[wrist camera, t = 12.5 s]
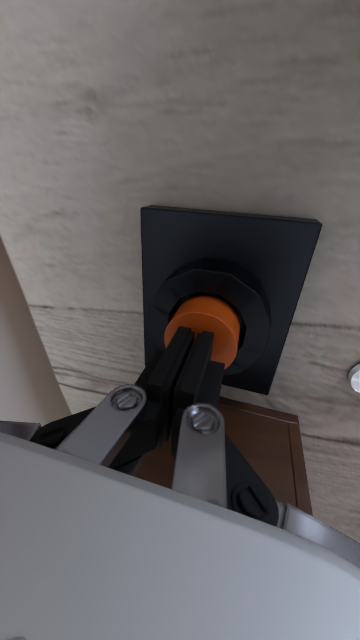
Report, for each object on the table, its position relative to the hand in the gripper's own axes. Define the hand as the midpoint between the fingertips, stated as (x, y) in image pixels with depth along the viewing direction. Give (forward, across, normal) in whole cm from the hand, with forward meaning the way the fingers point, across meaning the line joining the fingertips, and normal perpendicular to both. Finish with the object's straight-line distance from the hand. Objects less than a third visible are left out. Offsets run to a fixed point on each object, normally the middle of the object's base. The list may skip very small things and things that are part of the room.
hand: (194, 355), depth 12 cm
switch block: (+6, 0, 0) cm, 6 cm away
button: (+2, 0, 0) cm, 2 cm away
